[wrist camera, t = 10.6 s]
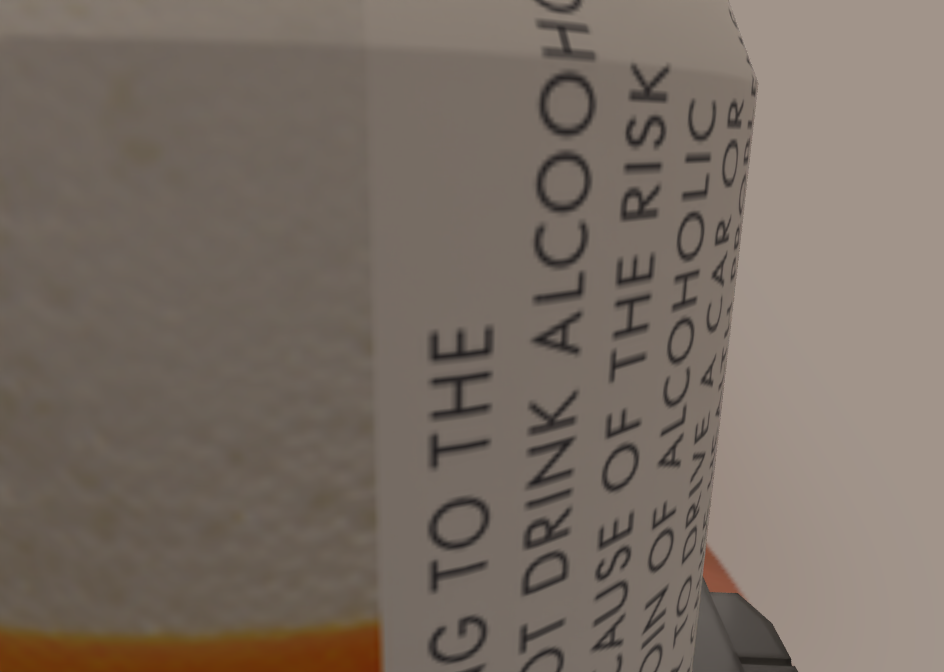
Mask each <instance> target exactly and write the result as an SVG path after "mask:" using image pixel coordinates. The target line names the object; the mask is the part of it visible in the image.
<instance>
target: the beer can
mask: <svg viewBox="0 0 944 672" xmlns="http://www.w3.org/2000/svg"><path fill="white" fill-rule="evenodd" d="M757 90H758V82H757V79H756V76H755V73H754V70H753V68H752V64H751V62H750V59H749V56H748V53H747V50H746V48H745V45H744V42H743V39H742V36H741V34H740V31H739V28H738V25H737V22H736V19H735V17H734V14H733V11H732V8H731V5H730V3H729V0H0V672H692V664H693V656H694V647H695V638H696V629H697V620H698V611H699V603H700V594H701V585H702V576H703V567H704V558H705V550H706V541H707V532H708V523H709V514H710V505H711V495H712V488H713V479H714V470H715V461H716V452H717V443H718V434H719V426H720V417H721V408H722V399H723V390H724V381H725V372H726V363H727V355H728V346H729V337H730V329H731V320H732V311H733V302H734V293H735V284H736V275H737V267H738V258H739V249H740V240H741V231H742V222H743V214H744V204H745V196H746V187H747V178H748V169H749V161H750V151H751V143H752V142H751V141H752V134H753V125H754V116H755V107H756V99H757Z"/></svg>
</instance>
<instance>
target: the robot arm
mask: <svg viewBox="0 0 944 672" xmlns="http://www.w3.org/2000/svg"><path fill="white" fill-rule="evenodd" d="M692 672H798V671H797V669H796V667H795V666H792V664H791V658H790V656H789V654H788V652H787V650H786V649H785V647H784V645H783V643H782V641H781V639H780V637H779V635H778V634H777V632H776V630H775V628H774V626H773V624H772V623H771V622H770V621H769V620H767V619H766V618H765V617H764V616H763V615H762V614H761V613H760V612H758V611H757V610H756V609H755V608H754V607H753V606H752V605H751V604H749V603H748V602H747V601H746V600H745V599H744V598H743V597H741V596H740V595H739V594H738V593H716V592H709V589H708V587H707V585H706V583H705V580H704V578H703V576H702V585H701V594H700V603H699V611H698V620H697V629H696V638H695V647H694V656H693V664H692Z"/></svg>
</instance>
